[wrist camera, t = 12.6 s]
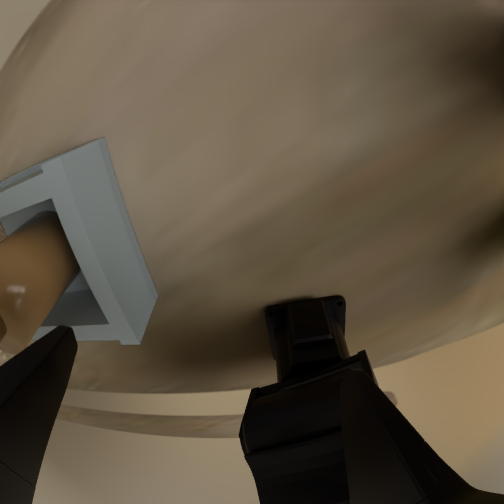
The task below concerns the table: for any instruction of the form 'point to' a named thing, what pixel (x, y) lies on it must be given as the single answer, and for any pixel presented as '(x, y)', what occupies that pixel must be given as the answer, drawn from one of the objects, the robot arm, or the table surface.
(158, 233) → the table surface
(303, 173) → the table surface
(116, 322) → the u rest
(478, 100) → the table surface
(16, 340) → the amber bottle
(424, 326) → the table surface
